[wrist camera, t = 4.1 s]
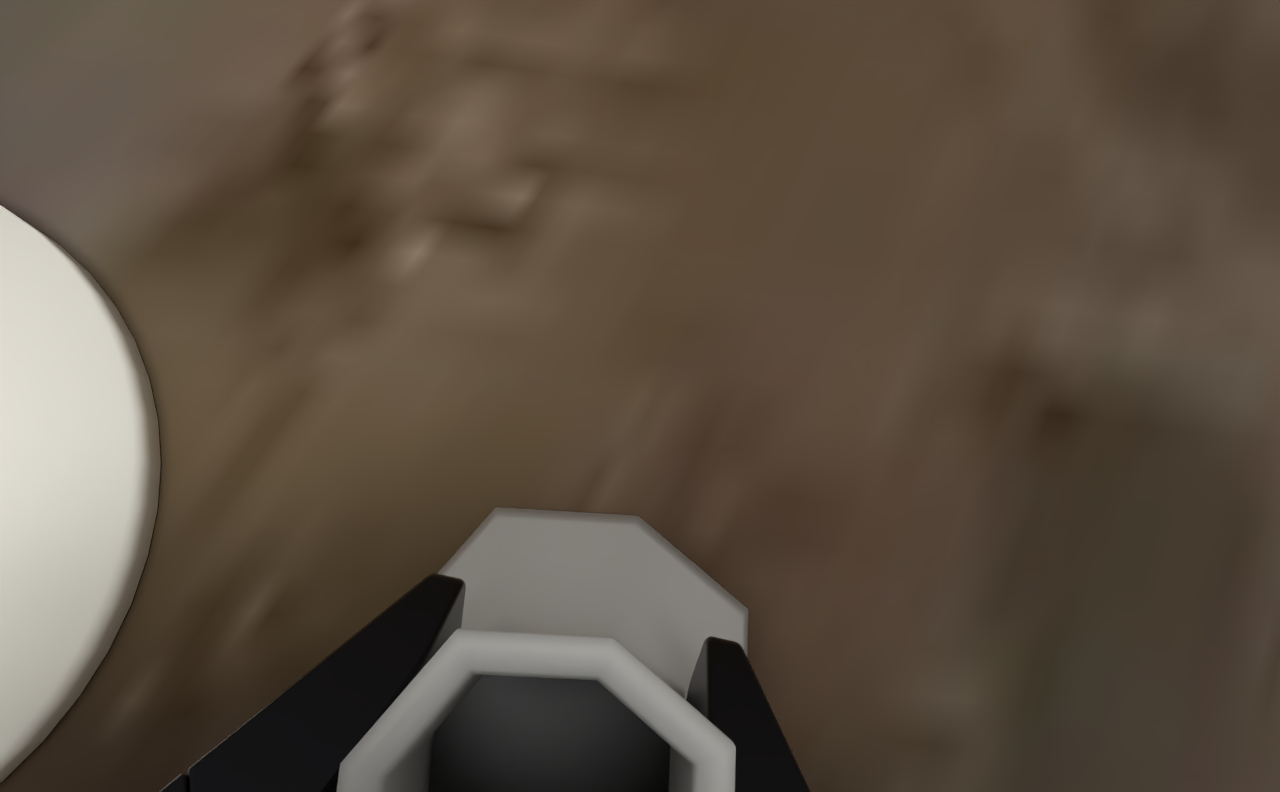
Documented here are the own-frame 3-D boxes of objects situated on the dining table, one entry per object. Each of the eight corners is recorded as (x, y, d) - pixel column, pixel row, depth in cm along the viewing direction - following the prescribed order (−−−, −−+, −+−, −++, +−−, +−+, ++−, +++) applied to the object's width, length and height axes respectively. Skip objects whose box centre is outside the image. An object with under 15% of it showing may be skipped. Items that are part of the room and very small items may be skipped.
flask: (474, 451, 17) (315, 257, 7) (801, 583, 17) (1101, 570, 7) (312, 808, 15) (-197, 1201, 5) (675, 961, 15) (837, 1667, 5)
